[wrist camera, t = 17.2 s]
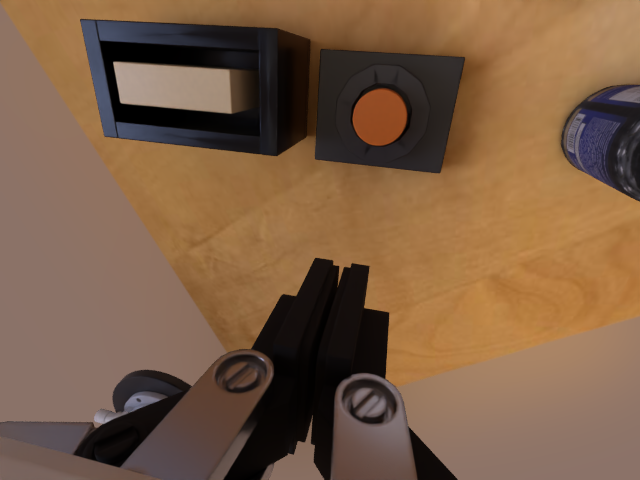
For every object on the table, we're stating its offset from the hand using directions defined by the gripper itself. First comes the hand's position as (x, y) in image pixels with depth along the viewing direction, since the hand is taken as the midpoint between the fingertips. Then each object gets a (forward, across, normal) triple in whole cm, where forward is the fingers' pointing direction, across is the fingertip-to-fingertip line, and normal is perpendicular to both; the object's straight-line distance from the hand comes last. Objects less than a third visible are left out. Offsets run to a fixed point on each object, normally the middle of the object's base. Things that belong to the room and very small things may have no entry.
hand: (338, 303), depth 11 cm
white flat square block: (+20, +13, -5) cm, 25 cm away
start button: (+18, 0, -4) cm, 18 cm away
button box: (+21, 0, -4) cm, 22 cm away
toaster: (+21, +13, -5) cm, 26 cm away
